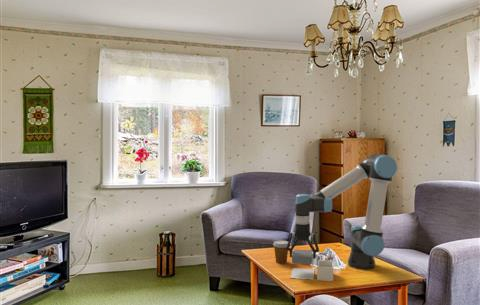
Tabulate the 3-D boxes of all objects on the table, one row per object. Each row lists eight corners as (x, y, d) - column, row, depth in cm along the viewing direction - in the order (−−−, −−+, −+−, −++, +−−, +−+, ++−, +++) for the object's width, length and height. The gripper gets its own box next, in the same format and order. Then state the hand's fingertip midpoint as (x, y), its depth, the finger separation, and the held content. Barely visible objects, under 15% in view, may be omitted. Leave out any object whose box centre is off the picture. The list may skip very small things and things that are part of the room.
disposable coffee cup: (287, 265, 235) (287, 244, 235) (271, 263, 238) (271, 243, 238) (291, 260, 244) (290, 240, 244) (275, 259, 247) (275, 239, 247)
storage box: (333, 273, 220) (333, 261, 219) (333, 281, 209) (333, 267, 208) (317, 272, 221) (317, 260, 221) (317, 280, 210) (317, 266, 210)
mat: (314, 270, 226) (314, 269, 226) (313, 280, 210) (313, 279, 210) (293, 268, 229) (293, 268, 229) (290, 278, 213) (290, 277, 213)
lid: (312, 257, 225) (312, 250, 224) (311, 264, 212) (311, 257, 212) (294, 256, 227) (294, 249, 227) (292, 263, 214) (292, 255, 214)
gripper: (280, 223, 217) (281, 264, 218) (323, 225, 212) (323, 267, 213) (282, 220, 225) (282, 260, 226) (324, 222, 220) (324, 263, 221)
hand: (302, 263), depth 219 cm, fingers closed on lid, 10 cm apart
